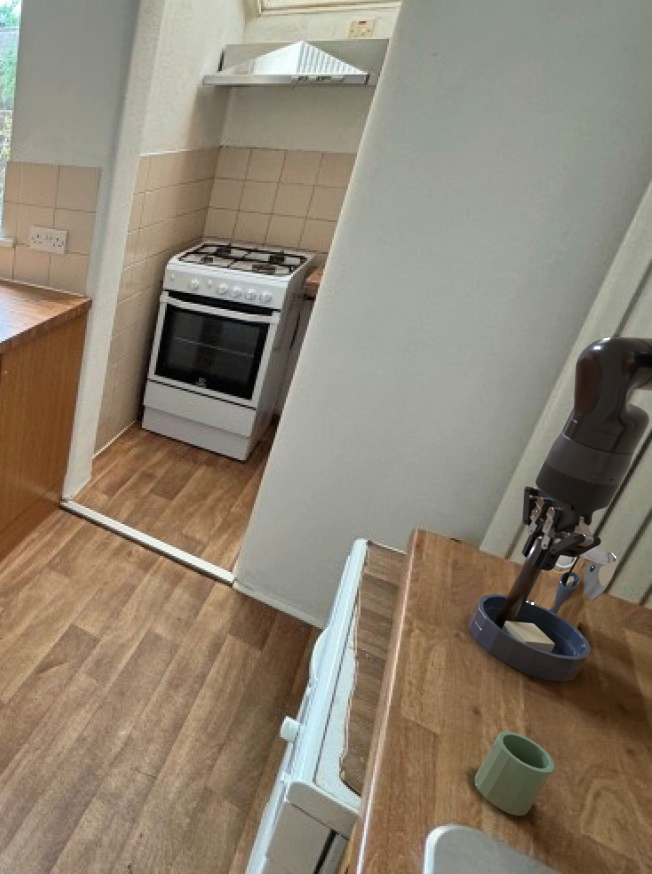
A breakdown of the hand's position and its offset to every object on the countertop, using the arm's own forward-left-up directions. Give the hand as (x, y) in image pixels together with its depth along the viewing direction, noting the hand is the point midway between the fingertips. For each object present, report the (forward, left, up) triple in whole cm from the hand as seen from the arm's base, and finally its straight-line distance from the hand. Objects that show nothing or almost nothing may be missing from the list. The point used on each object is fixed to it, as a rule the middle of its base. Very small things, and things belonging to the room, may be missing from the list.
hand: (535, 562), depth 92 cm
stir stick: (0, 0, -14) cm, 14 cm away
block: (-2, +3, -15) cm, 15 cm away
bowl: (-2, +2, -16) cm, 16 cm away
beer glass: (-11, -8, -16) cm, 21 cm away
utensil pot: (+13, +30, -16) cm, 37 cm away
